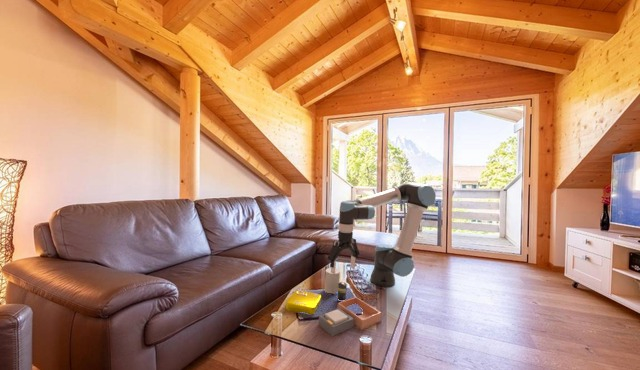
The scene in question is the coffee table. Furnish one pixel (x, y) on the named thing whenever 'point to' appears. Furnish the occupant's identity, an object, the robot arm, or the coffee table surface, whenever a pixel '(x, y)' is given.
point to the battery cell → (342, 291)
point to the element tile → (303, 302)
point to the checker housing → (335, 328)
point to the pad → (336, 316)
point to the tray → (368, 316)
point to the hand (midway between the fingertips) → (342, 270)
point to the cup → (332, 280)
